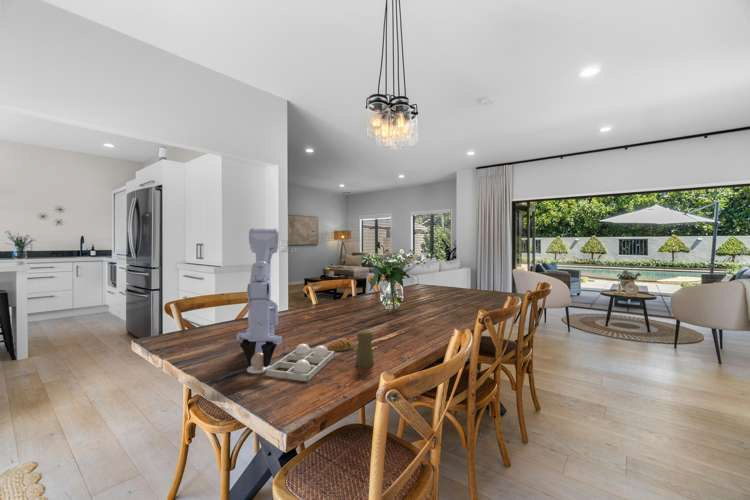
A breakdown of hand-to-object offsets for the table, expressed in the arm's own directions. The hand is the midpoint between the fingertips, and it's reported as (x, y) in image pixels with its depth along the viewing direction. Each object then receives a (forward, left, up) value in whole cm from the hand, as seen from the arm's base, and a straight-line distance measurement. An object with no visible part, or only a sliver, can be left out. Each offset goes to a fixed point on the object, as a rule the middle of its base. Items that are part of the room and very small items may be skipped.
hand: (259, 365), depth 98 cm
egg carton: (+12, +6, -2) cm, 13 cm away
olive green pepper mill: (+30, +14, -2) cm, 33 cm away
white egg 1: (+8, +12, -1) cm, 15 cm away
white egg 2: (+15, 0, -1) cm, 15 cm away
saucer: (0, 0, -2) cm, 2 cm away
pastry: (+17, +26, -2) cm, 31 cm away
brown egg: (0, 0, -1) cm, 1 cm away
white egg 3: (+15, +12, -1) cm, 19 cm away
